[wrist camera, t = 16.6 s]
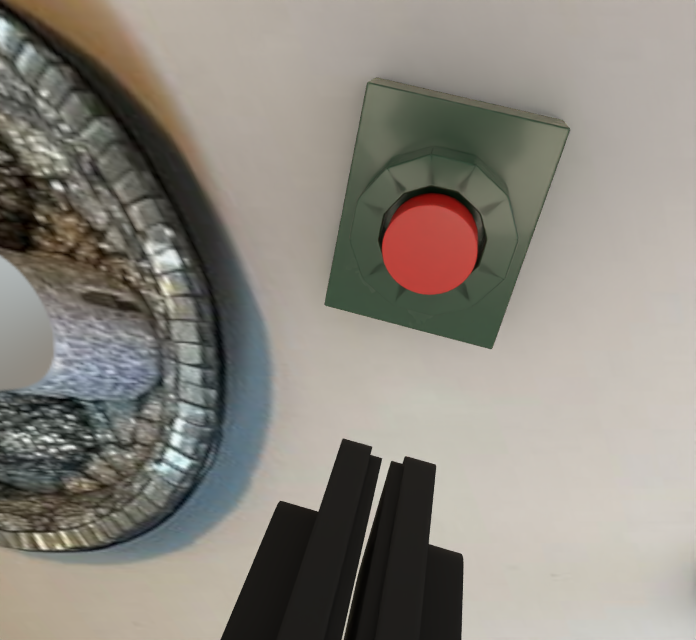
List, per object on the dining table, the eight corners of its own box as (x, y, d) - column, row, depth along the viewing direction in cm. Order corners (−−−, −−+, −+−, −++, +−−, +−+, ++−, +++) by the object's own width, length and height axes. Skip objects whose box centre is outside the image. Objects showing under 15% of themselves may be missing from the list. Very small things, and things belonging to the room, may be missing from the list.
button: (399, 182, 24) (393, 194, 22) (489, 204, 23) (489, 218, 22) (379, 266, 25) (373, 281, 24) (463, 287, 25) (462, 305, 23)
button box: (375, 77, 25) (358, 86, 22) (563, 120, 25) (577, 136, 21) (333, 287, 30) (314, 322, 27) (491, 328, 30) (492, 370, 26)
